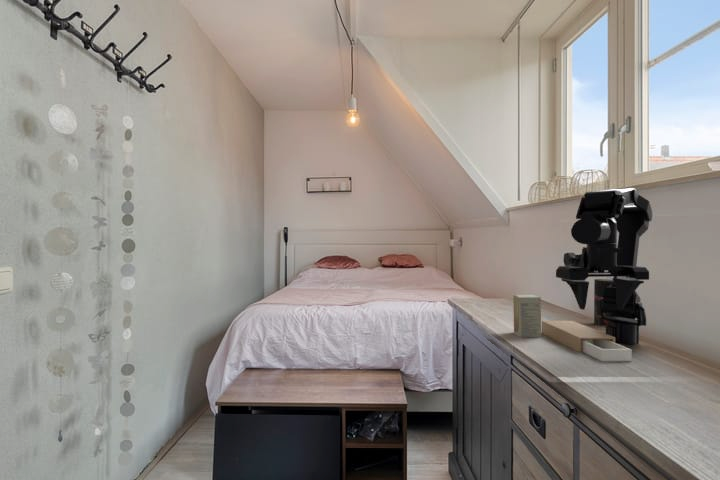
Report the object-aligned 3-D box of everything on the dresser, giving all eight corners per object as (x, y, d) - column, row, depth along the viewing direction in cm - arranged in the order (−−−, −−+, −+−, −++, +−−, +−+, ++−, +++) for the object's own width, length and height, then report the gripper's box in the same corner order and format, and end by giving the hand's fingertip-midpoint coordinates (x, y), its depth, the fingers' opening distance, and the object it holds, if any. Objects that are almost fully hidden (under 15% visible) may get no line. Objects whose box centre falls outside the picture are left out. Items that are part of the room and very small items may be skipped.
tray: (582, 340, 90) (582, 329, 90) (631, 362, 74) (631, 349, 74) (558, 340, 90) (558, 329, 90) (602, 362, 74) (602, 349, 74)
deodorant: (600, 327, 105) (600, 281, 105) (590, 322, 111) (590, 278, 111) (620, 328, 104) (621, 281, 104) (609, 323, 110) (610, 279, 110)
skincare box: (535, 335, 96) (535, 294, 96) (541, 340, 91) (542, 297, 91) (512, 335, 96) (512, 294, 96) (518, 339, 92) (518, 296, 92)
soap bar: (579, 340, 89) (579, 334, 89) (592, 346, 84) (592, 339, 84) (568, 340, 89) (568, 334, 88) (581, 346, 84) (581, 339, 83)
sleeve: (571, 335, 96) (571, 320, 96) (615, 355, 80) (615, 337, 80) (541, 335, 96) (541, 320, 96) (579, 355, 80) (579, 337, 80)
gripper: (612, 242, 85) (612, 301, 86) (542, 242, 85) (542, 302, 85) (651, 243, 74) (651, 311, 75) (571, 244, 74) (571, 312, 74)
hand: (600, 309), depth 77 cm, fingers open, 9 cm apart
